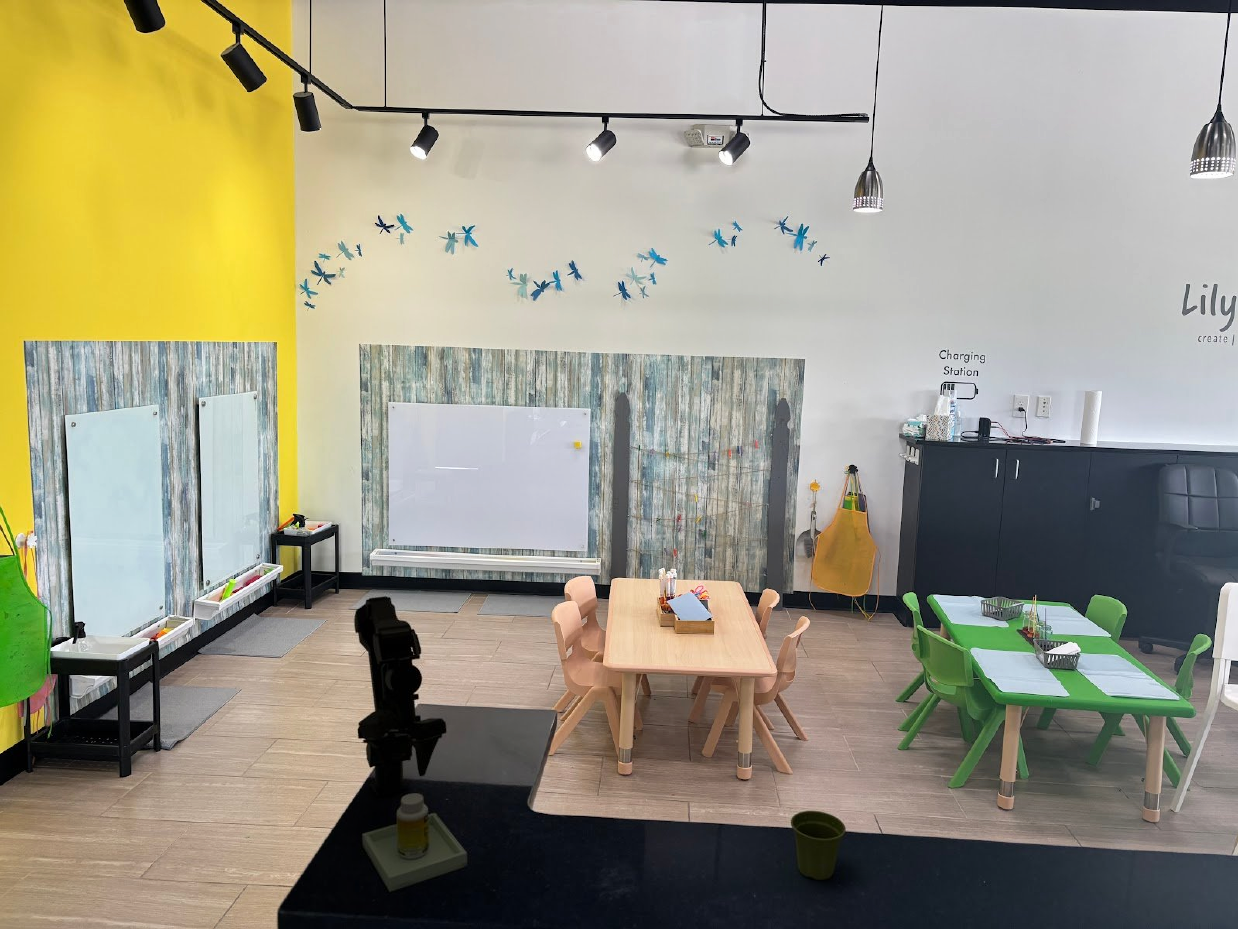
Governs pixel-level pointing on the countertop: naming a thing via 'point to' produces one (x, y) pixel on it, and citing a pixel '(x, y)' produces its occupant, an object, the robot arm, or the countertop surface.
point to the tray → (405, 872)
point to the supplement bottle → (412, 827)
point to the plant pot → (817, 842)
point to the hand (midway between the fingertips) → (405, 775)
